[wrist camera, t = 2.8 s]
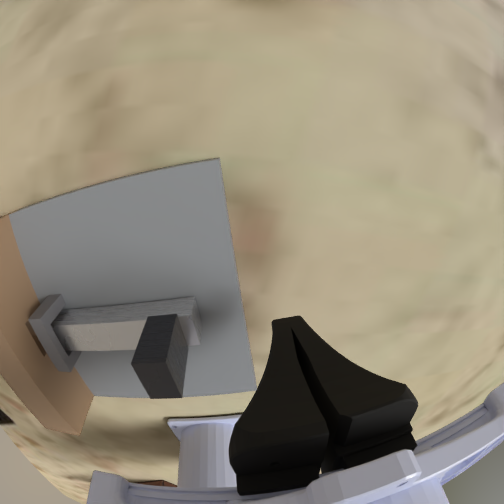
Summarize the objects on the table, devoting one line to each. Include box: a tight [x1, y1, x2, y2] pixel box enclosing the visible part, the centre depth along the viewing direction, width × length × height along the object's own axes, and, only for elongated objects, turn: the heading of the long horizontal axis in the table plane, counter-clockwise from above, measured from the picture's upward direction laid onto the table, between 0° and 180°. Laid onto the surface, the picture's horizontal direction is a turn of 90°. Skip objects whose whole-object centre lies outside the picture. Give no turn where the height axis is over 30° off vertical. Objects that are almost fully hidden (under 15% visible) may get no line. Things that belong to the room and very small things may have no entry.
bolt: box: [51, 297, 202, 399], centre depth 13 cm, size 10×2×5 cm, turn 97°
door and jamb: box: [0, 158, 257, 436], centre depth 14 cm, size 18×16×6 cm
